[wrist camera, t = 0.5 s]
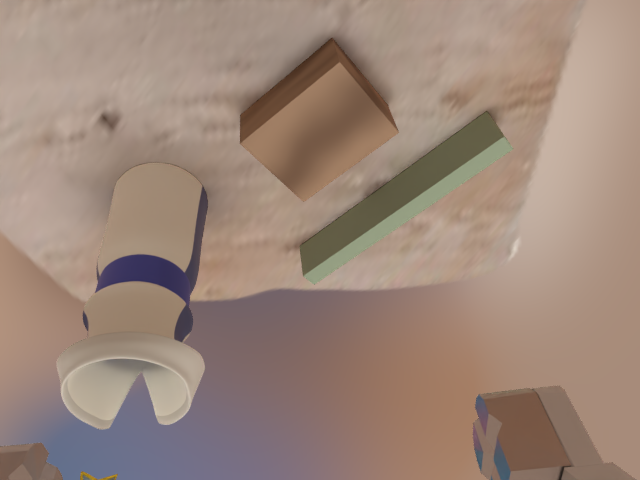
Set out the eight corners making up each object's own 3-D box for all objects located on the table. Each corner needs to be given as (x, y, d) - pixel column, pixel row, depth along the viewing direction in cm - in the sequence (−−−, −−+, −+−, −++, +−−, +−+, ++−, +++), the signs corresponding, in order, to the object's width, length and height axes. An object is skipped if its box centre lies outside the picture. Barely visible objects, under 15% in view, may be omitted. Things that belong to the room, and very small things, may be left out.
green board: (299, 246, 52) (303, 276, 49) (486, 111, 45) (504, 136, 42) (310, 254, 53) (314, 284, 50) (495, 123, 46) (513, 149, 43)
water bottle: (220, 238, 51) (205, 523, 32) (121, 242, 50) (46, 537, 31) (211, 159, 45) (187, 445, 26) (101, 162, 45) (-5, 459, 26)
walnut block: (240, 113, 43) (239, 143, 40) (331, 36, 40) (339, 61, 37) (299, 170, 47) (303, 201, 44) (387, 103, 44) (398, 132, 41)
